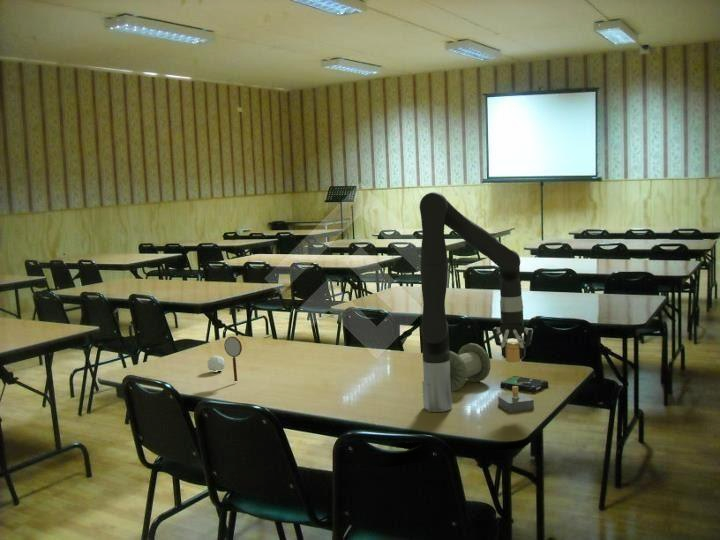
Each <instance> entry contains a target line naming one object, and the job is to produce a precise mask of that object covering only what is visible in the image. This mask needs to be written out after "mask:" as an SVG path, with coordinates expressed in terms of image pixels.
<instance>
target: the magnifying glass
mask: <svg viewBox="0 0 720 540" xmlns="http://www.w3.org/2000/svg"><path fill="white" fill-rule="evenodd" d="M242 350H243V346H242V342H241V340H239V338H237V337H236V336H228V337H227V338H226V339H225V341H224V351H225V352H226V353H227V355H228V356H230V357H232V368H233V378H234V379H233V380H234V382H235V381H237V382H238V373H237V361H236V357H238V356H240V355H241V353H242Z"/></svg>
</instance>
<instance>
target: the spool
mask: <svg viewBox="0 0 720 540" xmlns="http://www.w3.org/2000/svg"><path fill="white" fill-rule="evenodd" d="M449 358H450V378H451V392H455V391H457V390H460V389H461V388H462V387H463V386H465V384H466V381H468V382H473V383H479V382H481V381H484V380H485V379H487V377H488V376H489V374H490V372H491V360H490V357H489V353H487V351H486V350H485V349H484V347H483V346H481V345H479V344H477V343H472V342H470V343H467V344H464V345H462V346H461V347H460V349H459V350H458V353H456V352H454V351H452V350H449Z"/></svg>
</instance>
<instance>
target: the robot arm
mask: <svg viewBox="0 0 720 540" xmlns="http://www.w3.org/2000/svg"><path fill="white" fill-rule="evenodd" d="M419 212H420V221H421V231H422V236H421V245H420V246H421V247H420V284H421V286H420V287H421V294H422V295H421V296H422V305H423V307H422V318H421V325H420V334H421V336H422V337H421V338H422V339H421V342H422V366H423V381H422V383H421V384H422V399H423V401H422V402H423V409H425V411H427V412H428V413H442V412H447V411H450V410H452V408H453V404H452V403H453V401H452V391H451V378H450V358H449V351H450V339H449V337H450V335H449V334H450V333H449V323H448V320H447V317H446V294H447V287H448V276H449V275H448V273H449V269H448V263H449V262H448V261H449V260H448V251H447V244H446V240H445V238H446V237H445V226H446V227H448V228H449V229H450V230H451V231H453V232H454V233H456V234H457V236H459V237H460V238H461V239H462V240H463V241H465V242H466V243H467V244H468V245H469V246H471V247H472V248H473V249H475V250H476V251H478V252H479V253H480V254H482V255H483V256H485V257H486V258H488V259H489V260H490V261H491V262H493V264H495V265H496V266H497V267H498V268H499V275H500V281H499V282H500V284H499V287H500V288H499V291H500V298H499V299H500V300H499V307H500V308H499V309H500V311H499V312H500V326H499V327H497V326H495V327H493V328H492V330H491V331H492V334H493V335H492V336H493V339H494V342H495V345H496V346H498V347H500V348H501V356H502V357H503V359H506V352H505V348H506V343H507V342H509V341H508V340H510V339H514V340H516V342H519V344H520V347H521V348H520V359H522V360H523V359H524V358H525V357H526V355H527V354H526V348H527V347H530V345H531V344H532V339H533V335H534V334H533V333H534V328H533V327H532V328H529V327H526V326H525V323H524V304H523V303H524V302H523V296H522V294H523V293H522V283H521V278H520V275H521V274H520V273H521V270H520V269H521V266H520V265H521V258H520V255H519V253H518V252H517V251H515V250H513V249H510V248H509V247H507V246H506V245H505V244H503V243H501V242H500V241H499V239H497V238H496V237H495V236H494V235H492V234H491V233H489V231H487V230H485V229H484V228H483V227H482V226H480V225H478V224H477V223H476V222H473V220H471V219H469V218H467V217H466V215H464V214H462V213H461V212H460V211H458V210H457V208H455V207H454V206H453V205H452V204H451V203H450V202H449V200H447V198H446V196H444V195H443V194H442V193H440V192H436V191H435V192H434V191H433V192H429V193H427V194H425V195H423V197H422V198H421V200H420V202H419ZM500 332H501V333H502V335H503V338H502V340H501V338H500ZM524 332H525V335H526V341H525V340H524V337H523V334H524Z"/></svg>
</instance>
